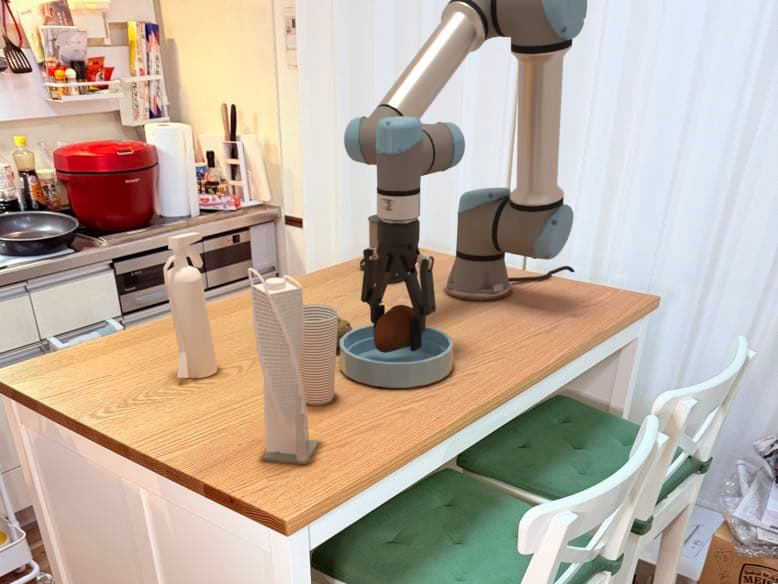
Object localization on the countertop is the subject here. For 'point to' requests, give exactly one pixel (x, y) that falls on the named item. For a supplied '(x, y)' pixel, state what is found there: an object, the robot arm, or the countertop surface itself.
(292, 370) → the skyscraper
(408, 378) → the bowl
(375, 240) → the milk frother
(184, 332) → the fire extinguisher
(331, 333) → the cup
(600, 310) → the countertop surface
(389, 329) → the potato
